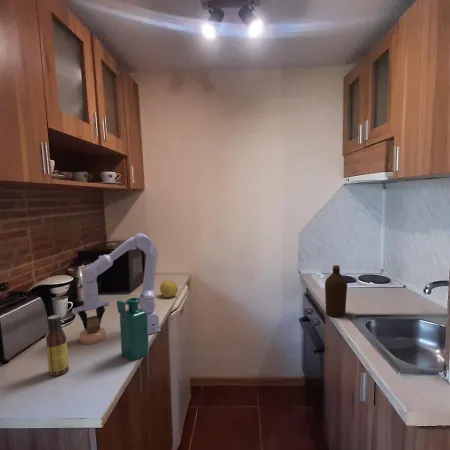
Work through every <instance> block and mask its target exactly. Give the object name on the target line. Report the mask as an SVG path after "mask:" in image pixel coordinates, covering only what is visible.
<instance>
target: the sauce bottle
mask: <svg viewBox="0 0 450 450" xmlns="http://www.w3.org/2000/svg"><path fill="white" fill-rule="evenodd" d="M46 319H47V323H48V332H47V335H46V338H45V341H46V354H47V364H48V365H47V366H48V372H49V375H50V376H52V377H58V376H61V375H64V374H66V373H68V371H69V369H70V368H69V367H70V362H69V352H68V351H69V350H68V342H67V341H68V340H67V336H66V334H65V332H64V329H63V327H62V324H61V320H62V317H61V315H60V314H53V315H51V316H48V317H47V318H46Z"/></svg>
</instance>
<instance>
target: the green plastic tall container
mask: <svg viewBox="0 0 450 450" xmlns="http://www.w3.org/2000/svg"><path fill="white" fill-rule="evenodd" d="M140 300H141V299H140V298H139V297H130V298H129V297H128V298H127V299H126V300H125V301H123V300H121V299H120V300H117V301H116V307H117V311H118V313H119V327H120V328H119V329H120V349H121V351H120V353H121V356H122V357H124V358H126V359H128V360H130V361H135V360H138V359H140V358H142V357H145V356H146V355H148V354H149V353H150V349H149V348H150V347H149V346H150V343H149V341H150V340H149V335H148V314H147V312H146V311H145V310H142V309H140V307H139V303H138V302H139V301H140ZM126 305H127V306H128V308H127V309H126Z"/></svg>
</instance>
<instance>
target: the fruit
mask: <svg viewBox="0 0 450 450" xmlns="http://www.w3.org/2000/svg"><path fill="white" fill-rule="evenodd" d="M178 291H179V287H178V284H177V283H176V282H175V281H172V280H163V282H161V284H160V287H159V292H160V294H161V295H162V296H163V297H164V298H166V299H169V298H172V297H174V296H176V295H177V293H178Z"/></svg>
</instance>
